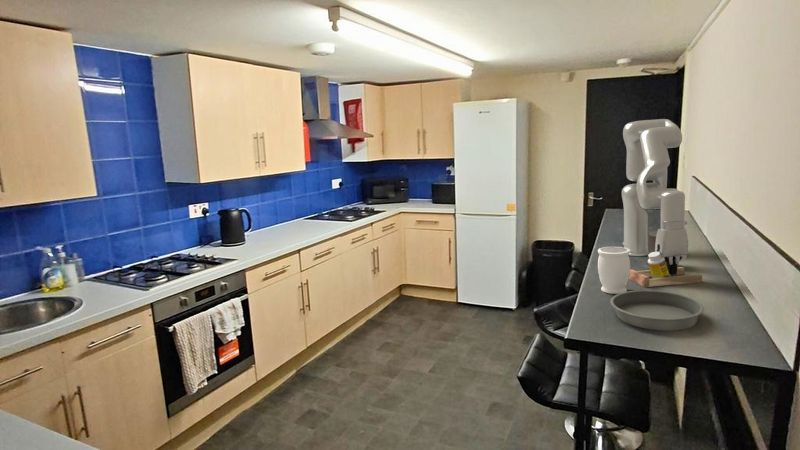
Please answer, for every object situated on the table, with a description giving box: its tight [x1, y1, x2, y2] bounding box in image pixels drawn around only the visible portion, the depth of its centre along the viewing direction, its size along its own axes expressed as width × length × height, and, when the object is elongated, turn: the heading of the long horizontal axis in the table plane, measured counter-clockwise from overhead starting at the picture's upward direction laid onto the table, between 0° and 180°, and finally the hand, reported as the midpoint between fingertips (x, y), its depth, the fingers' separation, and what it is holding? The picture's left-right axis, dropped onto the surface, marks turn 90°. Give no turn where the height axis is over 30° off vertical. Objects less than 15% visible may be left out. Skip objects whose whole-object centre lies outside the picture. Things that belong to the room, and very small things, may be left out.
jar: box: [597, 246, 631, 295], centre depth 163 cm, size 11×10×15 cm
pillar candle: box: [647, 230, 667, 267], centre depth 185 cm, size 10×10×15 cm
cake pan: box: [610, 289, 705, 331], centre depth 139 cm, size 25×25×4 cm
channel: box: [628, 266, 703, 288], centre depth 170 cm, size 12×21×4 cm, turn 92°
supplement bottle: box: [647, 252, 671, 278], centre depth 169 cm, size 6×6×10 cm
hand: (671, 273), depth 169 cm, fingers closed
